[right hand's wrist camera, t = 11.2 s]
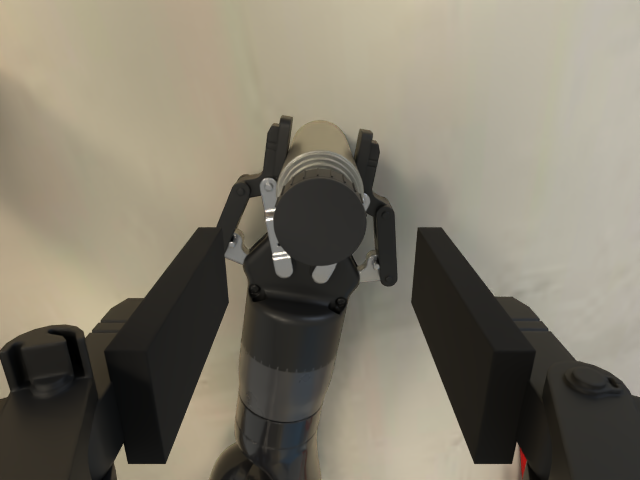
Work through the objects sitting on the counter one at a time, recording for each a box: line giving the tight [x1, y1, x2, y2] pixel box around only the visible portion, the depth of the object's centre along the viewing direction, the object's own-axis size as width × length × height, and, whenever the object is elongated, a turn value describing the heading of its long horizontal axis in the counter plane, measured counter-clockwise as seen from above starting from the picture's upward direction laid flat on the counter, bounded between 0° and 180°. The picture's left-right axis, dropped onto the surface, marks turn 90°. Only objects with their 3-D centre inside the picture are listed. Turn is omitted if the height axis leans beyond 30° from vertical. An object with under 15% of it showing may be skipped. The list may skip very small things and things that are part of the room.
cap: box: [273, 168, 367, 266], centre depth 19 cm, size 4×4×2 cm
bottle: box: [276, 120, 364, 199], centre depth 27 cm, size 4×5×18 cm
